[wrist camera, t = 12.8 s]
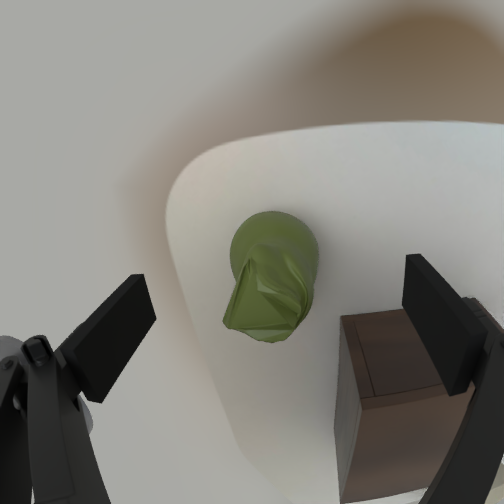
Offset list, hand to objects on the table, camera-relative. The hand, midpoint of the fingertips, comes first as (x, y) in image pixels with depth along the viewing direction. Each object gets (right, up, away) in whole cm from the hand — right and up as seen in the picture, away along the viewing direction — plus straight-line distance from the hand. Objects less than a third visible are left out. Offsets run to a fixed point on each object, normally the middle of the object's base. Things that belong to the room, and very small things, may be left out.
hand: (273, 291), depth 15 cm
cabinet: (+13, -10, +10) cm, 19 cm away
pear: (+1, +3, +7) cm, 8 cm away
